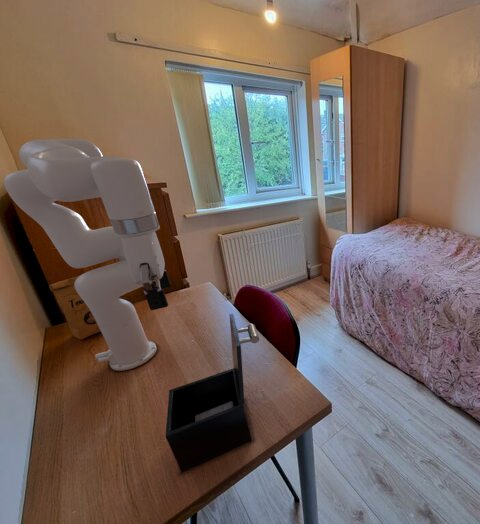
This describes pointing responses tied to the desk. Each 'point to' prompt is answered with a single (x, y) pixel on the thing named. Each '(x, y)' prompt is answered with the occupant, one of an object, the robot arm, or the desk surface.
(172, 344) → the desk surface
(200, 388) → the bin
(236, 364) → the bin lid
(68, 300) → the coffee package
